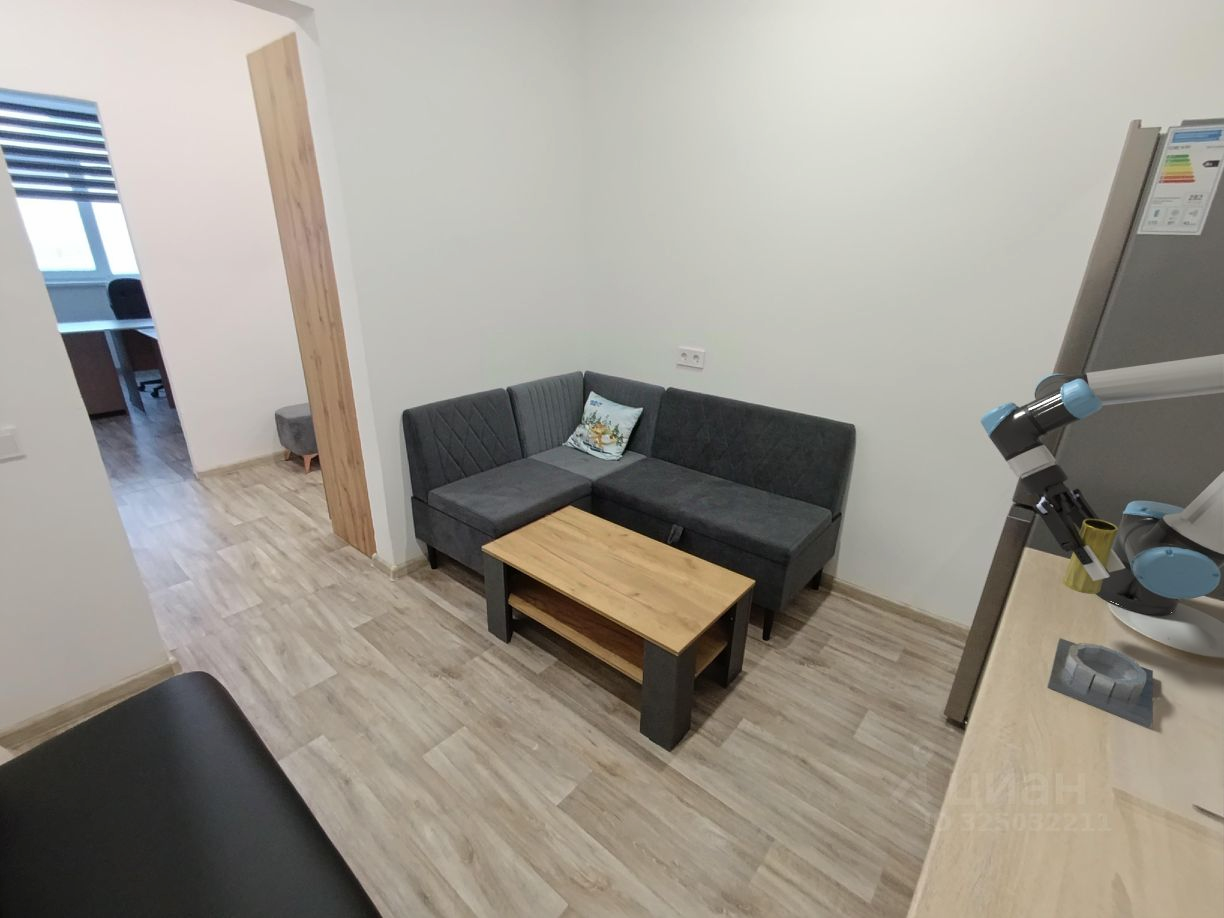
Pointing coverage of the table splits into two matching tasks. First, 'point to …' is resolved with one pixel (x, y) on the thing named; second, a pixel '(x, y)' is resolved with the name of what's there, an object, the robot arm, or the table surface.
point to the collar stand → (1103, 680)
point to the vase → (1100, 543)
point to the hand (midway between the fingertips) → (1109, 574)
